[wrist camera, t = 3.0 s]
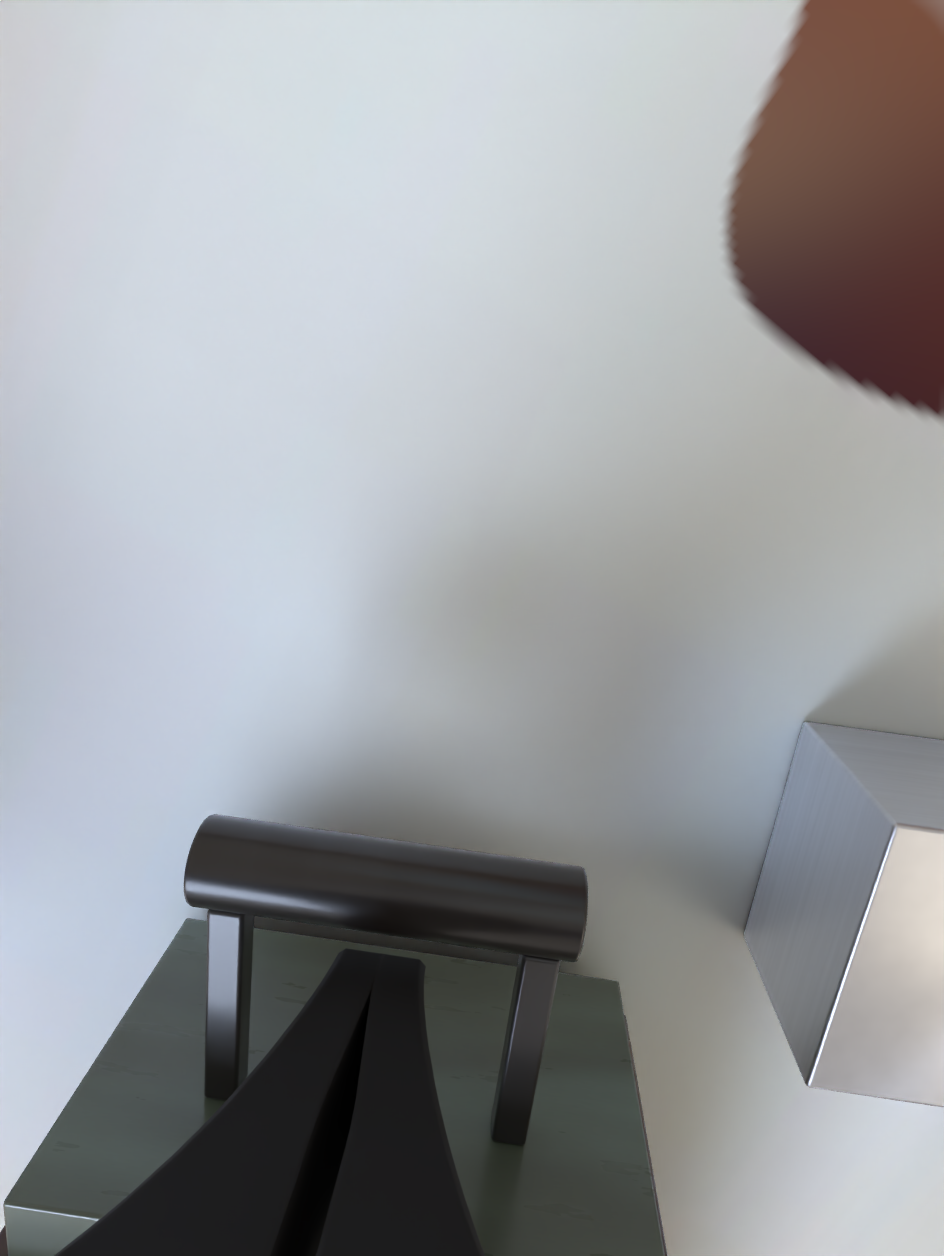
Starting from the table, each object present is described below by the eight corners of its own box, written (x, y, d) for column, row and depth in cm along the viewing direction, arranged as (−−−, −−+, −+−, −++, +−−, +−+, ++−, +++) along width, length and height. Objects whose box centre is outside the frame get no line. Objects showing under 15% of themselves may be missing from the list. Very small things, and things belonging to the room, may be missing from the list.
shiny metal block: (801, 719, 15) (894, 823, 12) (1018, 749, 15) (1184, 864, 12) (741, 935, 17) (805, 1089, 13) (937, 963, 17) (1057, 1126, 13)
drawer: (188, 703, 15) (-28, 899, 9) (665, 770, 15) (763, 1015, 9) (183, 1290, 21) (44, 1657, 15) (537, 1346, 20) (543, 1742, 14)
